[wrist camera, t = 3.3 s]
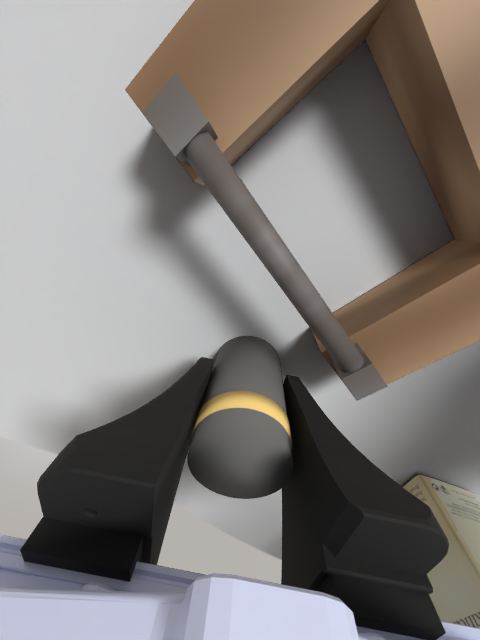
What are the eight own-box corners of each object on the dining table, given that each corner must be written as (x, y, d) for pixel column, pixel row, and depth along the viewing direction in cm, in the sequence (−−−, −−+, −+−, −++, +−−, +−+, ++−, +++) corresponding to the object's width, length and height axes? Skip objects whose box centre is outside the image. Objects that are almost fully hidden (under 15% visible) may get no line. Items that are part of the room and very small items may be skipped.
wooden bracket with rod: (584, 237, 10) (768, 253, 6) (339, 367, 13) (369, 425, 10) (459, -230, 6) (748, -867, 3) (157, 118, 10) (93, 62, 6)
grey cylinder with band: (294, 371, 14) (316, 477, 8) (241, 400, 15) (231, 510, 9) (254, 322, 13) (250, 407, 7) (201, 357, 14) (163, 454, 8)
